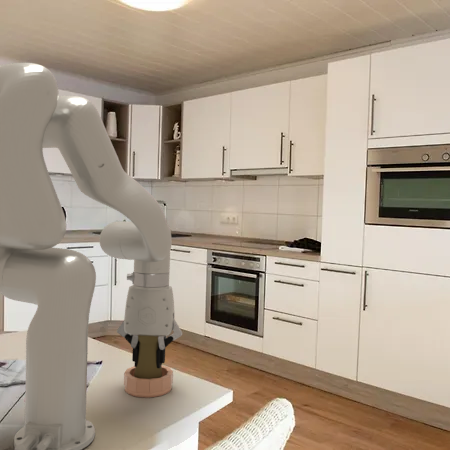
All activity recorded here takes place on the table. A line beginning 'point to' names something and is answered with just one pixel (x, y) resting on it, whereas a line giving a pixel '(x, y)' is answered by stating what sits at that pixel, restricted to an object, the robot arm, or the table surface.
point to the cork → (147, 358)
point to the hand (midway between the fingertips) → (148, 364)
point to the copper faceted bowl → (148, 383)
